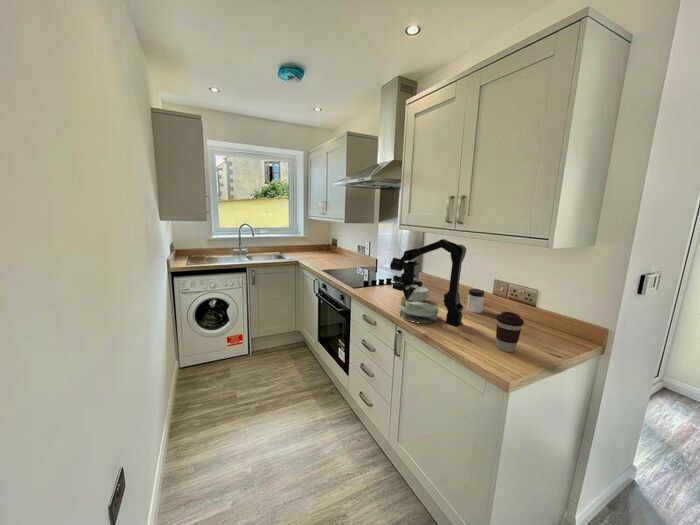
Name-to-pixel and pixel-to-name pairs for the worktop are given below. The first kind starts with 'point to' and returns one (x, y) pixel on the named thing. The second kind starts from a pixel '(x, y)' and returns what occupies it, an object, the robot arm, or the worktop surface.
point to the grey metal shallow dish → (419, 318)
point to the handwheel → (418, 308)
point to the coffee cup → (508, 331)
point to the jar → (475, 300)
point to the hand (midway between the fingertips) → (406, 300)
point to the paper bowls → (419, 294)
